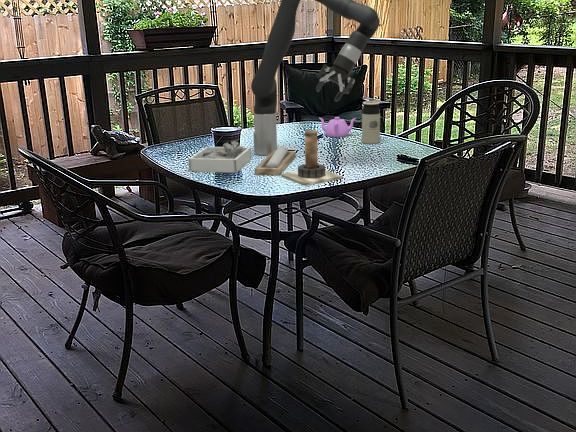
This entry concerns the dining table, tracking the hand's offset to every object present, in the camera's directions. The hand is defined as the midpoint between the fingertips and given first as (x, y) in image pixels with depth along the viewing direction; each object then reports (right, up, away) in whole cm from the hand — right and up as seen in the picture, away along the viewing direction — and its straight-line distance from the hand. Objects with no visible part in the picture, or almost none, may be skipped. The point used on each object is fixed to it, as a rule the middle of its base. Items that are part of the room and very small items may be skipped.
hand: (326, 96), depth 251 cm
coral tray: (-41, -25, +11) cm, 50 cm away
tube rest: (-19, -26, +8) cm, 33 cm away
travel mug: (+23, -13, +46) cm, 52 cm away
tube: (-19, -26, +9) cm, 33 cm away
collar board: (-6, -32, -11) cm, 34 cm away
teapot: (+9, -7, +63) cm, 64 cm away
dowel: (-6, -31, -11) cm, 33 cm away
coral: (-41, -26, +9) cm, 49 cm away
